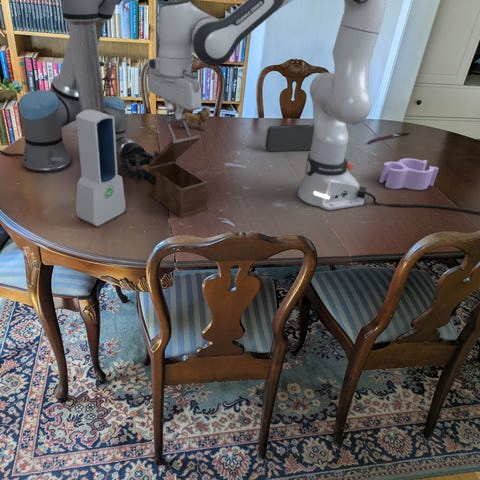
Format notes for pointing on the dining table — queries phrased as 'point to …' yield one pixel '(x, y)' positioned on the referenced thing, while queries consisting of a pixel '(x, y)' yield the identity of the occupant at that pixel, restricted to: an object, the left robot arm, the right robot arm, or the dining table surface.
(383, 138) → the sword
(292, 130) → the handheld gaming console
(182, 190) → the chest
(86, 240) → the dining table surface
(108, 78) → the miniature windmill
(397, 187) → the clip
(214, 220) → the dining table surface
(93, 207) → the electronic device
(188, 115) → the lion figurine
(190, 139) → the lid
